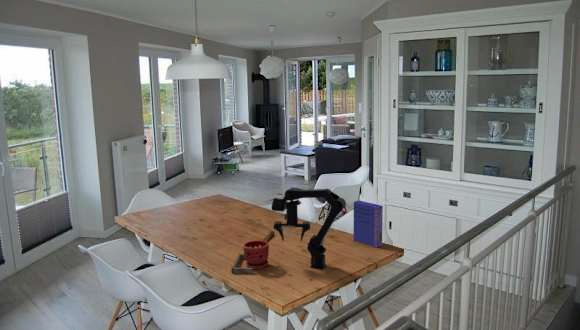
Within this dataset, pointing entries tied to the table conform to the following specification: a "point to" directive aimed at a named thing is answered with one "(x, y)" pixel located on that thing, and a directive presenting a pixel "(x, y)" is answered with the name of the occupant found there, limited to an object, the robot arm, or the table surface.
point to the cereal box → (368, 223)
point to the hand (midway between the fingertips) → (292, 241)
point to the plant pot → (256, 254)
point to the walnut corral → (241, 270)
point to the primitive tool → (268, 236)
